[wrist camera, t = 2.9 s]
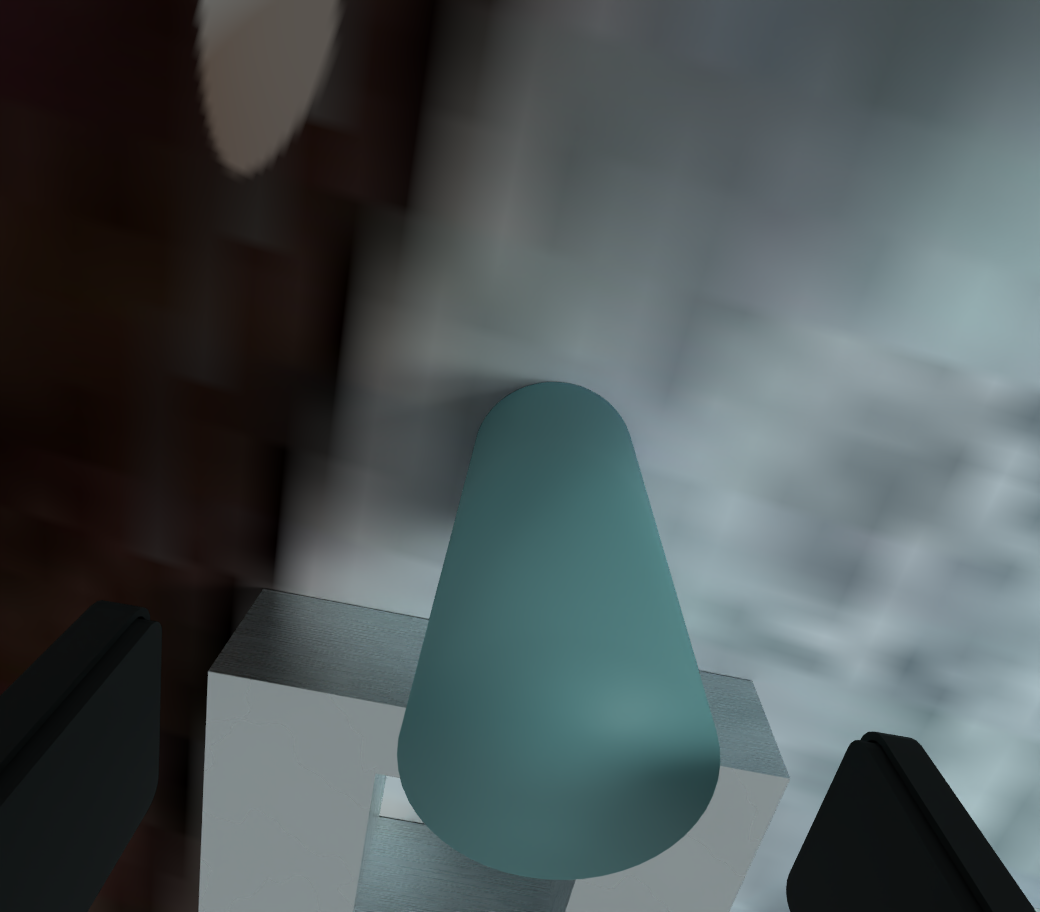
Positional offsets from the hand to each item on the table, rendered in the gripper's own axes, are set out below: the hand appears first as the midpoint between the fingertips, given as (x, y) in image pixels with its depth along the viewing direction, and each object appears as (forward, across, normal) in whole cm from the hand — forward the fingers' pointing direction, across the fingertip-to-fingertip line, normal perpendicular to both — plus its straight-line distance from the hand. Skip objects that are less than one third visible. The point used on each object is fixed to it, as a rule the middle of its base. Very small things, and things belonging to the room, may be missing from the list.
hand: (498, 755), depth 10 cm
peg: (+9, -1, -1) cm, 9 cm away
